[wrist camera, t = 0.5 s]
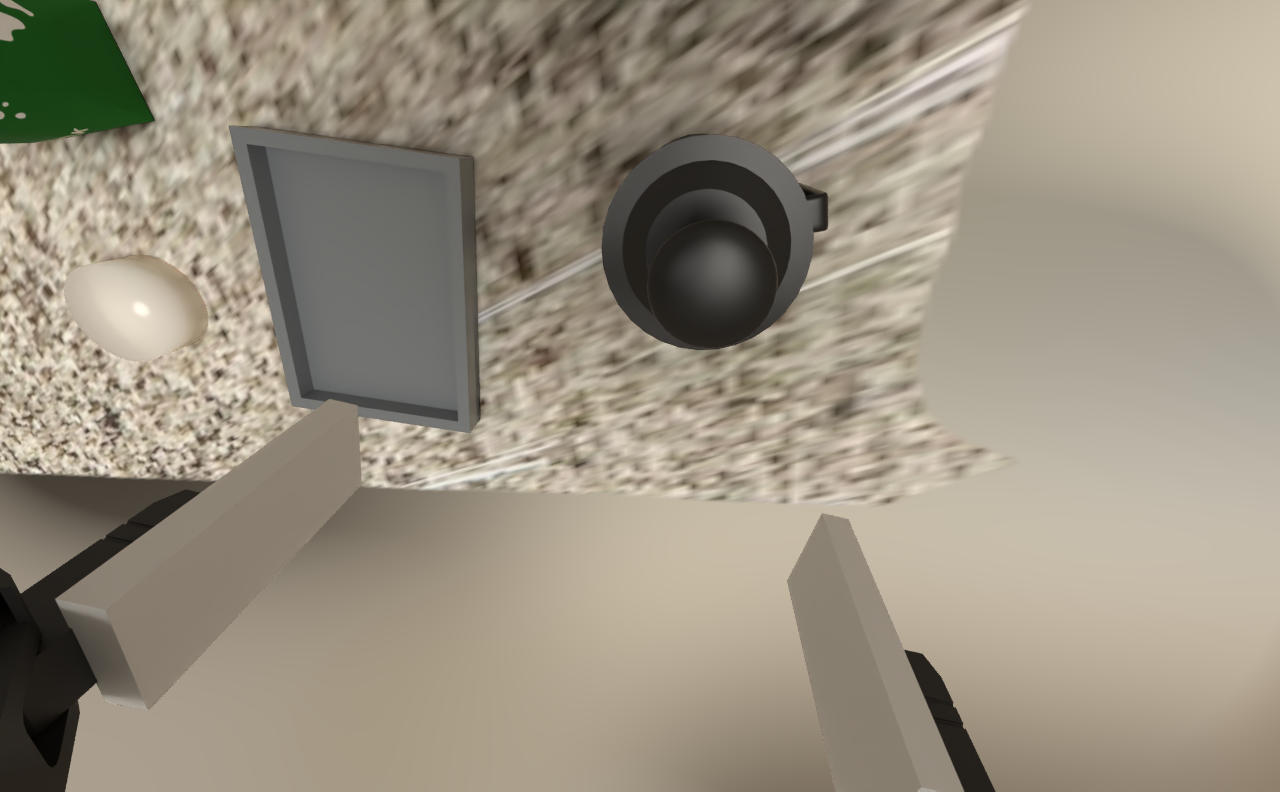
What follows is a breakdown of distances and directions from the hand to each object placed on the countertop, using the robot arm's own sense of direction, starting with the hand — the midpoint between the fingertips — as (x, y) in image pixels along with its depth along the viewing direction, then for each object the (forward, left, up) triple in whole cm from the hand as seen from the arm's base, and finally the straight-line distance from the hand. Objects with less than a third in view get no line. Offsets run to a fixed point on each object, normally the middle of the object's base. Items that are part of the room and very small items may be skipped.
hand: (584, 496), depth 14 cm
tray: (+5, -22, -28) cm, 35 cm away
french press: (-5, +3, -28) cm, 29 cm away
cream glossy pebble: (+9, -42, -28) cm, 51 cm away
